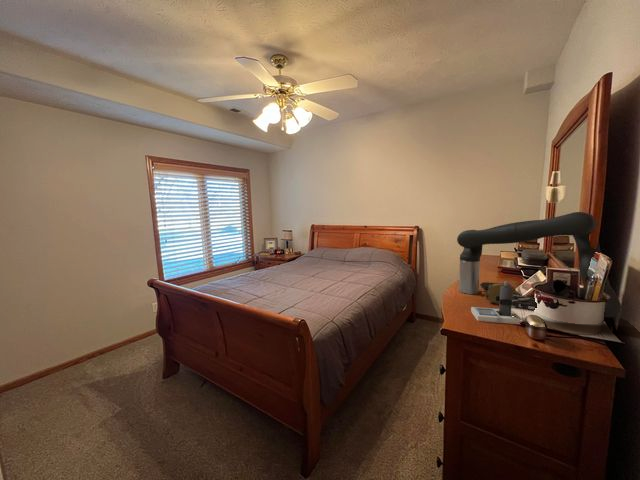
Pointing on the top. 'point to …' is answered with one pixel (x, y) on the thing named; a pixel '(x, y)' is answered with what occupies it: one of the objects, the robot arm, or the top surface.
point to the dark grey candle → (506, 294)
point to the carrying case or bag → (486, 285)
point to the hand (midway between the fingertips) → (497, 300)
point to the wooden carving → (496, 292)
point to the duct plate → (494, 315)
